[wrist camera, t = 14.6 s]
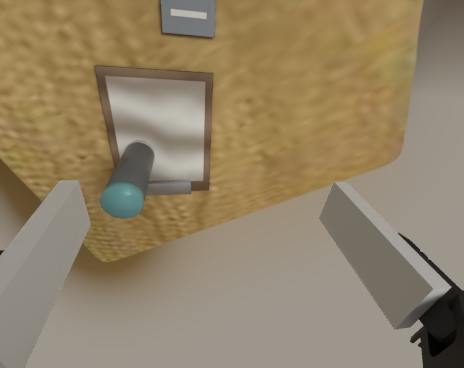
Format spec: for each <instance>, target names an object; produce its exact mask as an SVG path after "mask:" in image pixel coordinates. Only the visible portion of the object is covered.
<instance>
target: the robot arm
mask: <svg viewBox="0 0 464 368" xmlns="http://www.w3.org/2000/svg"><path fill="white" fill-rule="evenodd" d="M320 220H321V222H322V223H323V225H324V226H325V228H326V229H327V231H328V232H329V234H330V235H331V237H332V238H333V239H334V241H335V242H336V244H337V245H338V247H339V248H340V250H341V251H342V253H343V254H344V255H345V257H346V259H347V260H348V262H349V263H350V265H351V266H352V268H353V269H354V271H355V272H356V274H357V275H358V276H359V278H360V279H361V281H362V282H363V284H364V285H365V287H366V288H367V290H368V291H369V292H370V294H371V296H372V297H373V299H374V300H375V302H376V303H377V304H378V306H379V307H380V309H381V310H382V312H383V313H384V315H385V316H386V318H387V319H388V321H389V322H390V324H391V325H392V327H393V328H394V329H401V328H409V327H411V326H412V325H413V324H414V323H415V322H416V321H417V320H418V319H419V320H420V321H421V323H422V324H423V325H424V326H423V327H422V328H421V329H420V330H419V331H418V332H416V333H415V334H414V335H413V336H412V337H411V340H410V342H412V343H414V342H415V341H417V340H418V339H419V338H421V342H420V343H419V344H418V346H419V347H421V348H422V359H423V368H464V291H462V290H461V289H460V288H459V287H458V286H456V284H455V283H454V282H453V281H451V279H449V278H448V277H447V276H446V275H445V274H444V273H443V272H442V271H441V270H440V269H439V268H438V267H437V266H436V265H435V264H434V263H433V262H432V261H431V260H429V259H428V257H427V256H426V255H425V254H424V253H423V252H420V249H419V248H418V247H417V246H416V245H415V244H413V242H411V241H410V240H409V239H407V238H406V237H404V236H403V235H401V234H400V233H397V232H396V231H395V230H394V229H393V228H392V227H391V226H390V225H388V223H387V222H386V221H385V220H383V218H382V217H381V216H380V215H379V214H378V213H377V212H376V211H375V210H374V209H373V208H372V207H371V206H370V205H369V204H368V203H367V202H366V201H365V200H364V199H363V198H362V197H361V196H360V195H359V194H357V192H356V191H355V190H354V189H353V188H352V187H351V186H350V185H349V184H348V183H346V182H334V184H333V186H332V189H331V191H330V194H329V196H328V198H327V201H326V203H325V206H324V208H323V211H322V213H321V215H320ZM90 226H91V222H90V219H89V215H88V212H87V208H86V205H85V201H84V198H83V194H82V191H81V187H80V183H79V180H60V181H59V182H58V183H57V184H56V186H55V187H54V188H53V189H52V191H51V192H50V193H49V195H48V196H47V197H46V198H45V200H44V201H43V202H42V203H41V205H40V206H39V207H38V209H37V210H36V211H35V212H34V213H33V215H32V216H31V217H30V219H29V220H28V221H27V222H26V224H25V225H24V226H23V227H22V229H21V230H20V231H19V233H18V234H17V235H16V236H15V238H14V239H13V240H12V241H11V243H10V244H9V245H8V246H7V248H6V249H5V250H2V251H0V368H25V366H26V364H27V361H28V359H29V357H30V355H31V353H32V350H33V348H34V346H35V344H36V342H37V340H38V337H39V336H40V333H41V331H42V329H43V327H44V325H45V322H46V321H47V318H48V316H49V314H50V312H51V310H52V308H53V305H54V303H55V301H56V299H57V297H58V295H59V292H60V290H61V288H62V286H63V284H64V282H65V279H66V277H67V275H68V273H69V271H70V269H71V267H72V265H73V262H74V260H75V258H76V256H77V254H78V252H79V249H80V247H81V245H82V243H83V241H84V239H85V237H86V234H87V232H88V230H89V228H90Z"/></svg>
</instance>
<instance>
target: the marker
mask: <svg viewBox="0 0 464 368" xmlns="http://www.w3.org/2000/svg"><path fill="white" fill-rule="evenodd" d="M154 158H155V152H154V149H153V147H152V146H151V145H150V144H149V143H147V142H145V141H142V140H136V141H133V142H131V143H130V144H129V145H128V146H127V147H126V149H125V151H124V153H123V155H122V157H121V159H120V161H119V163H118V165H117V167H116V169H115V171H114V172H113V174H112V176H111V178H110V180H109V182H108V184H107V186H106V188H105V190H104V192H103V194H102V196H101V200H100V202H101V206H102V208H103V209H104V210H105V211H106V212H107V213H108V214H109V215H111V216H114V217H117V218H131V217H134V216H136V215H137V214H139V213H140V211H141V210H142V207H143V203H144V199H145V195H146V191H147V187H148V183H149V179H150V175H151V171H152V167H153V162H154Z"/></svg>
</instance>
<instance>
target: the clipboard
mask: <svg viewBox="0 0 464 368" xmlns="http://www.w3.org/2000/svg"><path fill="white" fill-rule="evenodd" d="M95 71H96V76H97V81H98V86H99V91H100V96H101V101H102V106H103V111H104V116H105V121H106V126H107V131H108V136H109V141H110V146H111V151H112V156H113V161H114V166H115V169H116V167H117V165H118V163H119V161H120V159H121V157H122V155H123V153H124V151H125V149H126V147H127V146H128V145H129V144H130V143H131V142H133V141H136V140H142V141H145V142H147V143H149V144H150V145H151V146H152V147H153V149H154V152H155V158H154V162H153V167H152V171H151V175H150V179H149V183H148V187H147V191H146V195H169V194H191V191H201V190H209V174H210V147H211V120H212V93H213V73H204V72H189V71H174V70H159V69H144V68H129V67H113V66H98V65H96V66H95Z"/></svg>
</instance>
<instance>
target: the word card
mask: <svg viewBox="0 0 464 368" xmlns="http://www.w3.org/2000/svg"><path fill="white" fill-rule="evenodd" d="M215 10H216V0H161V13H162V30H163V32H164V33H174V34H185V35H195V36H206V37H215Z"/></svg>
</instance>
